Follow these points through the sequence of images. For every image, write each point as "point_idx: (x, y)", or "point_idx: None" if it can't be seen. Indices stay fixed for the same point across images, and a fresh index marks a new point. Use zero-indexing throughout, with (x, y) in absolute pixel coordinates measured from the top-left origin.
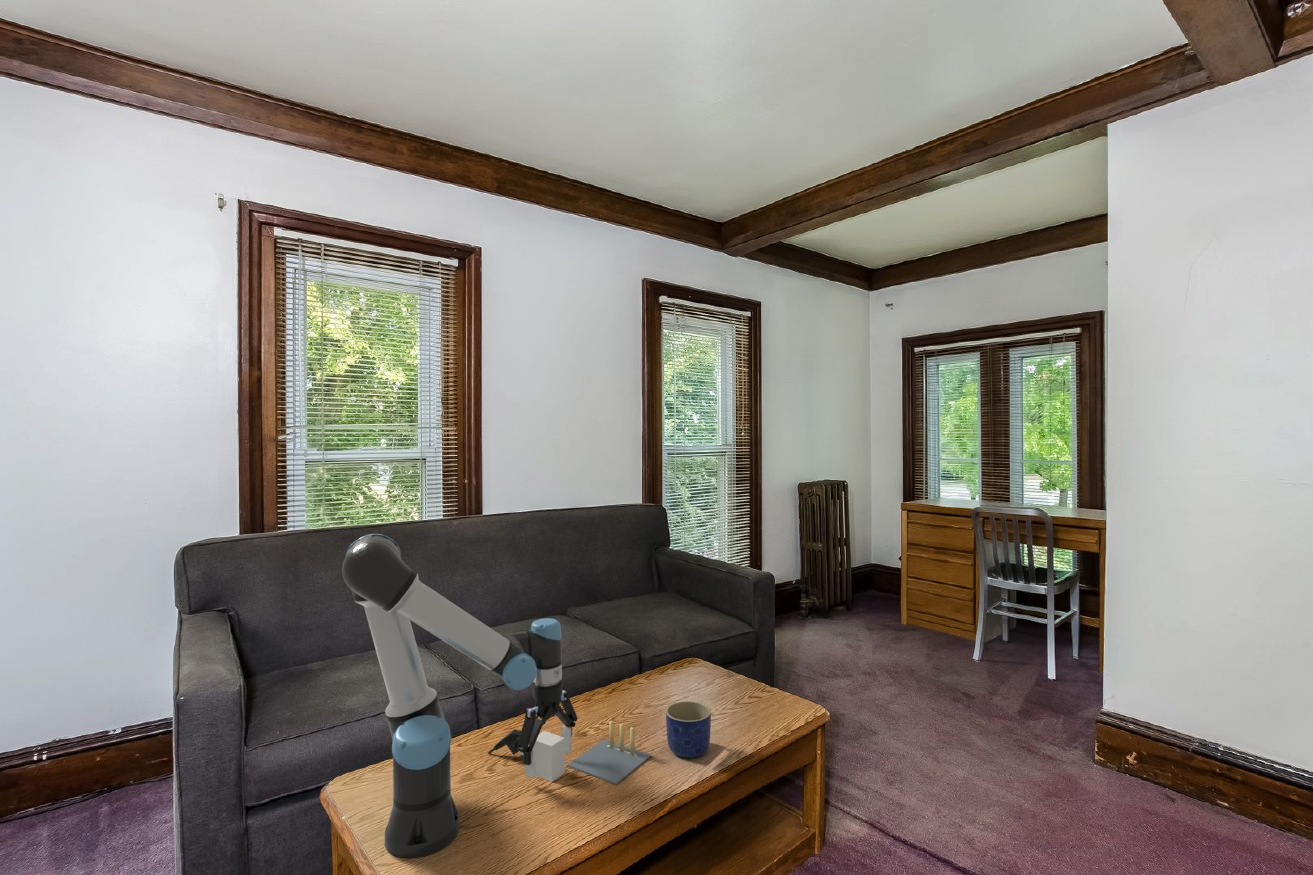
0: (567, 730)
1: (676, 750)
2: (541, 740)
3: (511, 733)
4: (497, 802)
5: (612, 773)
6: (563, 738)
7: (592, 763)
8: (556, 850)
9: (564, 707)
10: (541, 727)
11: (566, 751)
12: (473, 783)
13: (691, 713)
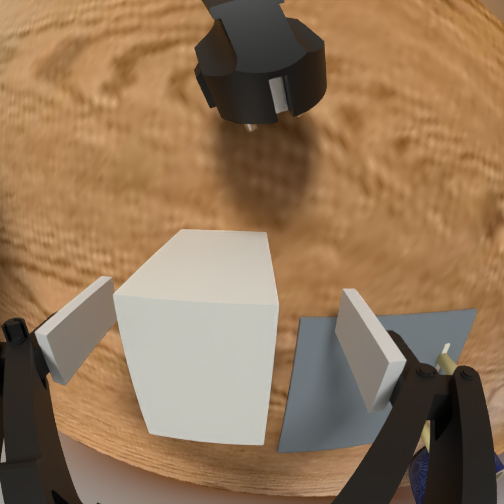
0: (368, 394)
1: (415, 466)
2: (149, 368)
3: (216, 10)
4: (29, 252)
5: (313, 433)
6: (252, 444)
7: (343, 376)
8: (63, 427)
9: (453, 477)
10: (70, 482)
11: (338, 316)
12: (45, 104)
13: None
